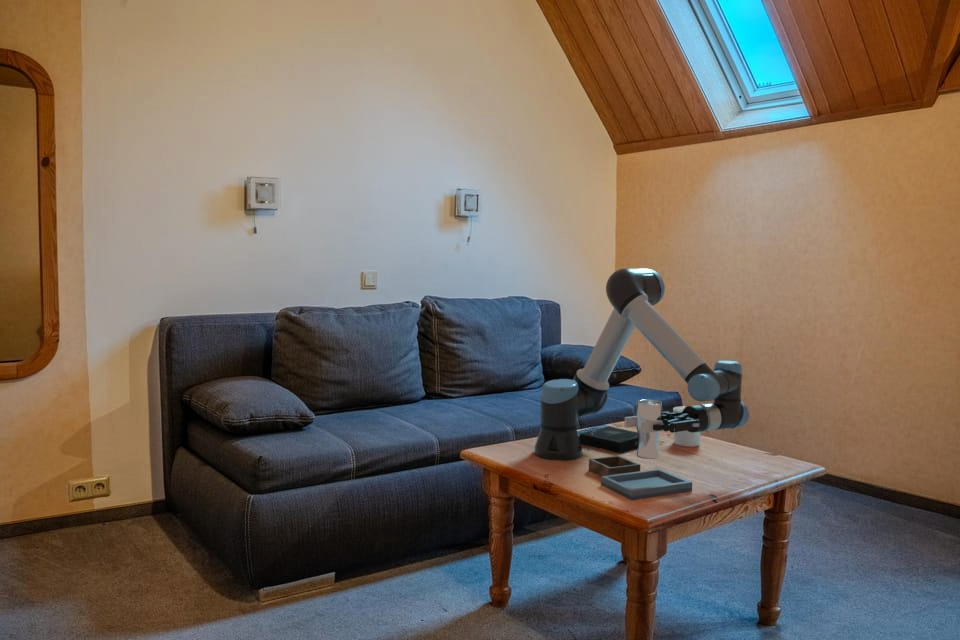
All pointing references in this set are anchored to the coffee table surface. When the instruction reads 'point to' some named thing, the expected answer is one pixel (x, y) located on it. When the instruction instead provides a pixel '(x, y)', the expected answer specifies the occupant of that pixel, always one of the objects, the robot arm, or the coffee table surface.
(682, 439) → the candle holder
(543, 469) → the coffee table surface
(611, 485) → the slate tray
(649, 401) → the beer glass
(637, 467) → the walnut holder
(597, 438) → the portable cd player
